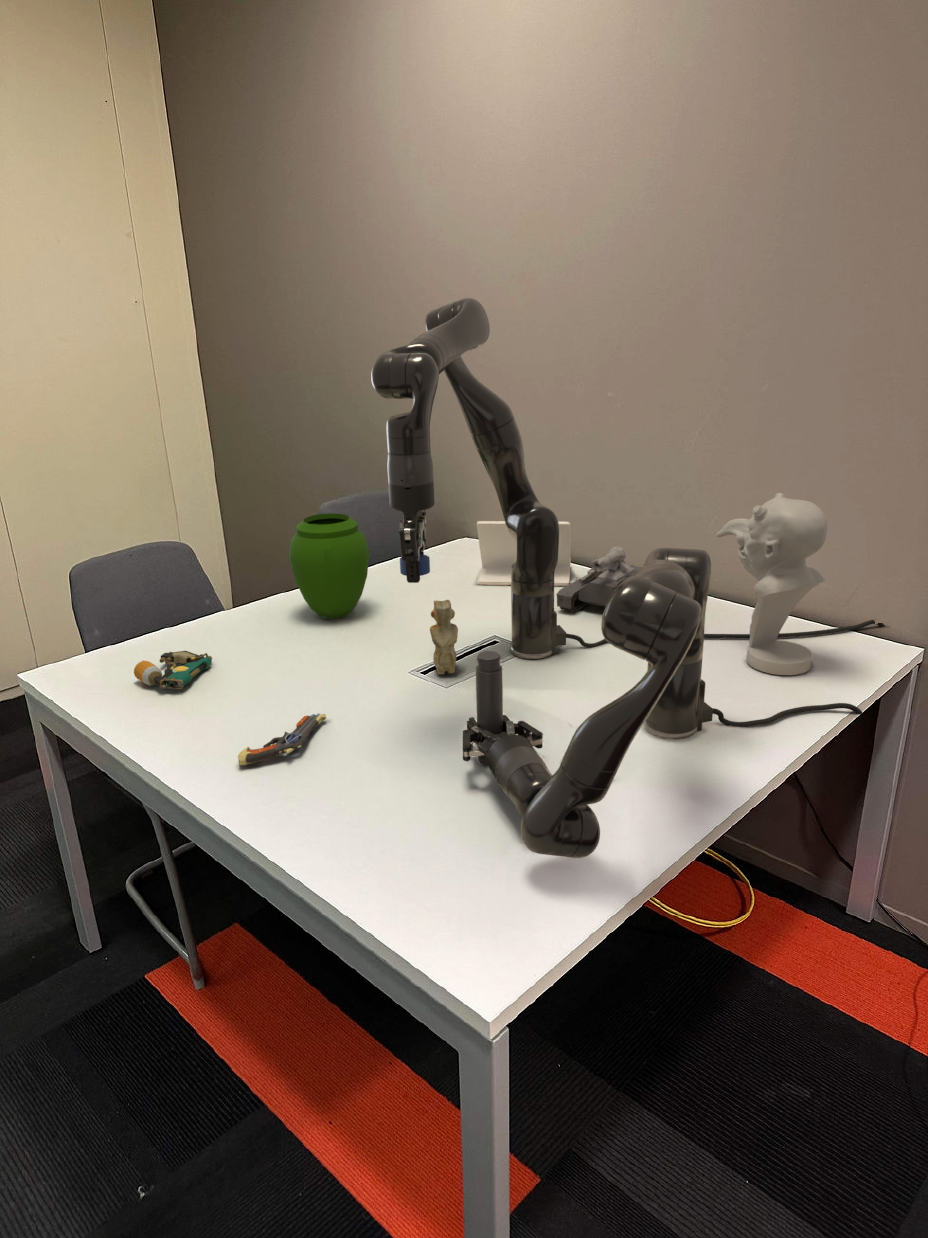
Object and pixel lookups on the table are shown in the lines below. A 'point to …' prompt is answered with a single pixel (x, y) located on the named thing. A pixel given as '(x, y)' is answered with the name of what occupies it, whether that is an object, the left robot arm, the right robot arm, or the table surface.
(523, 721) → the right robot arm
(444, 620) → the sculpture
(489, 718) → the dark grey capped cylinder
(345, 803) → the table surface
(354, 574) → the vase
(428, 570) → the lid
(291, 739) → the toy gun
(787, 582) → the bust sculpture
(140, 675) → the spray gun
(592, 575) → the toy
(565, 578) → the tablet stand
